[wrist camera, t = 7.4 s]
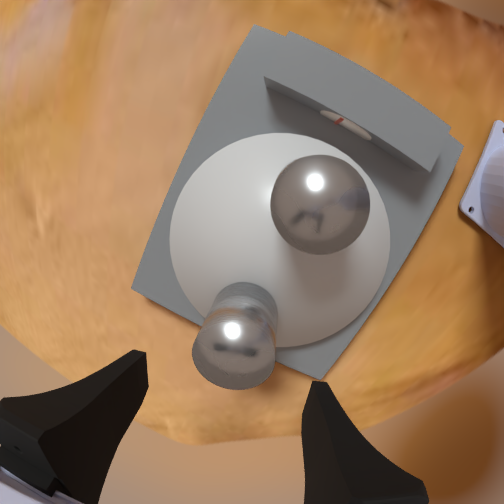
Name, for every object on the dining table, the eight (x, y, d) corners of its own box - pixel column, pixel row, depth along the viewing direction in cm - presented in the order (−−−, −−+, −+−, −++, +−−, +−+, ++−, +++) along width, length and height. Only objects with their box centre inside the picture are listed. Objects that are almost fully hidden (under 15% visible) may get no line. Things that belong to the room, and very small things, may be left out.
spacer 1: (289, 300, 19) (290, 346, 14) (258, 348, 20) (251, 400, 15) (229, 270, 19) (211, 308, 14) (203, 322, 20) (180, 368, 15)
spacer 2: (356, 172, 16) (384, 177, 12) (330, 238, 18) (347, 268, 13) (287, 145, 16) (290, 139, 12) (263, 214, 17) (256, 235, 13)
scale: (452, 146, 17) (483, 146, 14) (318, 367, 23) (323, 401, 19) (256, 33, 17) (250, 7, 13) (140, 280, 22) (115, 302, 18)
